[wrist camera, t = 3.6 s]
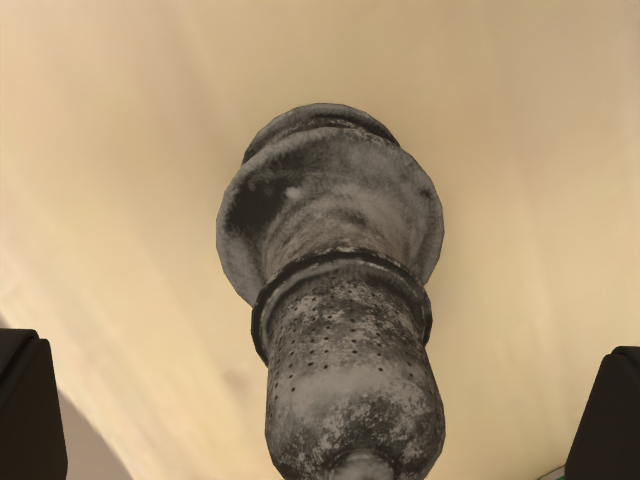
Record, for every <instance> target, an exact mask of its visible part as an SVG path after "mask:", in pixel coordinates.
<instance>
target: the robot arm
mask: <svg viewBox="0 0 640 480" xmlns="http://www.w3.org/2000/svg"><path fill="white" fill-rule="evenodd" d="M67 468H68V460H67V452H66V446H65V439H64V433H63V426H62V420H61V413H60V407H59V400H58V394H57V387H56V380H55V374H54V367H53V361H52V354H51V348H50V343H49V341H48V340H47V339H39V336H38V334H37V332H36V331H35V330H33V329H4V328H3V329H2V328H0V480H66V475H67ZM564 475H565V480H640V347H636V346H619V347H616V348H615V349H614V350H613V351H612V353H611V354H608V355H606V356H605V357H604V358H603V360H602V362H601V365H600V368H599V371H598V373H597V376H596V379H595V382H594V385H593V388H592V390H591V393H590V396H589V399H588V402H587V404H586V407H585V410H584V413H583V416H582V419H581V421H580V424H579V427H578V430H577V433H576V435H575V438H574V441H573V444H572V447H571V450H570V452H569V455H568V458H567V461H566V464H565V468H564Z"/></svg>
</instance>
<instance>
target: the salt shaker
mask: <svg viewBox="0 0 640 480" xmlns="http://www.w3.org/2000/svg"><path fill="white" fill-rule="evenodd" d="M443 237H444V223H443V212H442V205H441V202H440V200H439V197H438V195H437V193H436V190H435V188H434V185H433V183H432V180H431V179H430V177H429V176H428V175H427V174H426V172H425V171H424V170H423V169H422V168H421V166H420V165H419V164H418V163H417V161H416V160H415V159H414V158H413V157H412V156H411V155H410V154H408V153H407V152H405V151H404V150H402V149H401V148H400V146H399V143H398V142H397V141H396V139H395V138H394V137H393V136H392V134H391V133H390V132H389V131H388V130H387V128H386V127H385V126H384V125H383V124H381V123H380V122H379V121H377V120H376V119H374V118H373V117H371V116H370V115H368V114H367V113H366V112H363V111H360V110H357V109H354V108H351V107H349V106H346V105H340V104H326V103H317V104H312V105H307V106H302V107H296V108H294V109H292V110H290V111H288V112H286V113H284V114H282V115H280V116H278V117H276V118H274V119H273V120H272V121H271V122H270V123H269V124H267V125H266V126H265V127H264V128H263V129H262V130H261V131H259V132H258V133H257V135H256V136H255V138H254V139H253V141H252V143H251V144H250V146H249V147H248V149H247V150H246V152H245V155H244V158H243V161H242V165H241V168H240V169H239V171H238V172H237V174H236V175H235V177H234V178H233V180H232V181H231V183H230V184H229V186H228V187H227V189H226V190H225V193H224V196H223V199H222V203H221V206H220V209H219V212H218V216H217V219H216V248H217V251H218V254H219V258H220V261H221V265H222V268H223V271H224V273H225V275H226V276H227V278H228V280H229V281H230V283H231V284H232V286H233V287H234V289H235V290H236V292H237V294H238V295H239V296H240V297H241V298H243V299H244V300H245V301H246V302H247V303H248V304H249V305H250V306H251V307H252V308H253V310H252V320H251V335H252V338H253V342H254V345H255V349H256V352H257V353H258V355H259V356H260V358H261V359H262V361H263V362H264V364H265V365H266V367H267V368H268V382H267V401H266V420H265V438H266V442H267V446H268V450H269V453H270V456H271V459H272V462H273V465H274V466H275V467H276V469H277V470H278V471H279V473H280V474H281V476H282V477H283V478H284V479H285V480H423V479H425V478H426V476H427V475H428V473H429V472H430V470H431V469H432V467H433V465H434V464H435V462H436V461H437V459H438V457H439V456H440V454H441V453H442V449H443V445H444V440H445V436H446V433H445V415H444V407H443V403H442V400H441V396H440V393H439V390H438V387H437V384H436V381H435V378H434V375H433V372H432V369H431V366H430V363H429V359H428V356H427V353H426V350H425V346H426V344H427V343H428V341H429V337H430V332H431V327H432V322H433V319H432V311H431V302H430V299H429V297H428V295H427V293H426V291H425V289H424V287H423V286H424V285H425V284H426V283H427V282H428V280H429V278H430V276H431V274H432V272H433V270H434V268H435V266H436V264H437V262H438V260H439V257H440V252H441V247H442V242H443Z"/></svg>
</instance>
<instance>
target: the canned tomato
mask: <svg viewBox="0 0 640 480" xmlns="http://www.w3.org/2000/svg"><path fill="white" fill-rule="evenodd" d="M564 468H565V467H562V468H559V469H557V470H555V471H553V472H551V473H549V474H547V475H546V476H544V477H542V478H541V479H539V480H565V475H564Z"/></svg>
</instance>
